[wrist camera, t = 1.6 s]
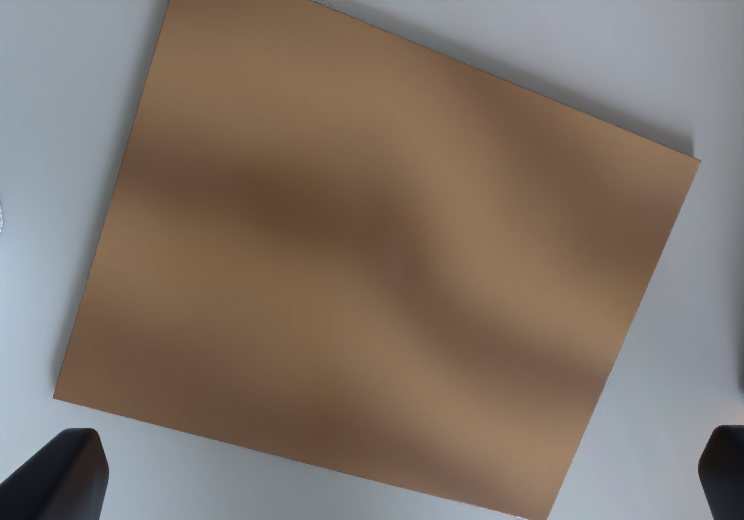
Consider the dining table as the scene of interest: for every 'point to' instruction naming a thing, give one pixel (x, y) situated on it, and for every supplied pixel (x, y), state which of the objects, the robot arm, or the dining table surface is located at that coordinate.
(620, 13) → the dining table surface
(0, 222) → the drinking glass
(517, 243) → the glossy brown placemat
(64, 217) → the dining table surface
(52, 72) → the dining table surface
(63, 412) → the dining table surface
